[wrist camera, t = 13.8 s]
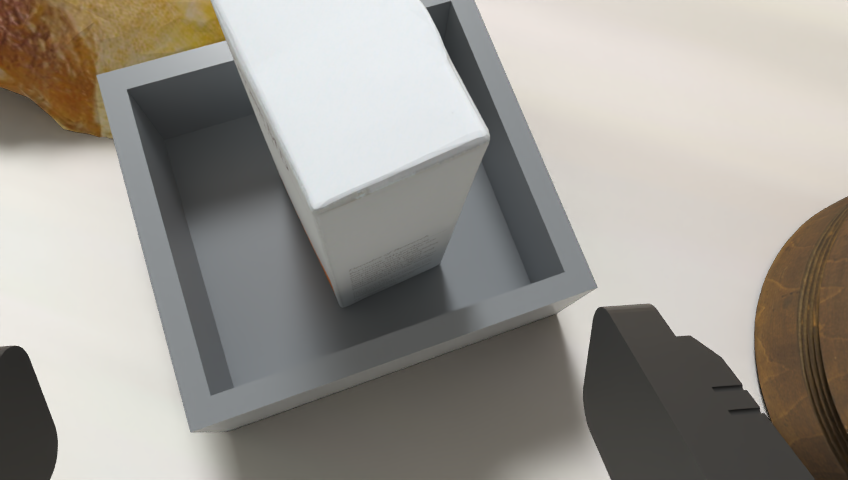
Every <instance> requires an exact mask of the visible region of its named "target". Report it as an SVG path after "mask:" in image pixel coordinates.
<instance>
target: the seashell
mask: <svg viewBox="0 0 848 480" xmlns="http://www.w3.org/2000/svg"><path fill="white" fill-rule="evenodd" d="M222 41H226V39H225V36H224V34H223V31H222V29H221V26H220V24H219V21H218V19H217V16H216V13H215V11H214V8H213V6H212V3H211V1H210V0H0V87H2V88H5V89H7V90H10V91H13V92H15V93H18V94H20V95H23V96H26V97H28V98H30V99H31V100H32V101H33V102H35V103H36V104H37V105H38V106H39V107H40V108H41V109H43V110H44V111H45V112H46V113H48V114H49V115H50V116H51V117H52V118H53V119H54V120H55V121H56V122H57V123H58V124H59V125H60V126H61V127H62V128H63V129H65V130H69V131H74V132H79V133H87V134H91V135H94V136H97V137H107V138H113V136H112V133H111V129H110V125H109V121H108V117H107V114H106V110H105V106H104V102H103V98H102V95H101V91H100V87H99V83H98V79H97V76H96V75H99V74H102V73H106V72H110V71H114V70H117V69H121V68H125V67H129V66H132V65H136V64H140V63H143V62H147V61H151V60H155V59H158V58H162V57H166V56H170V55H173V54H177V53H181V52H184V51H188V50H192V49H196V48H199V47H203V46H207V45H211V44H214V43H218V42H222Z"/></svg>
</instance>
